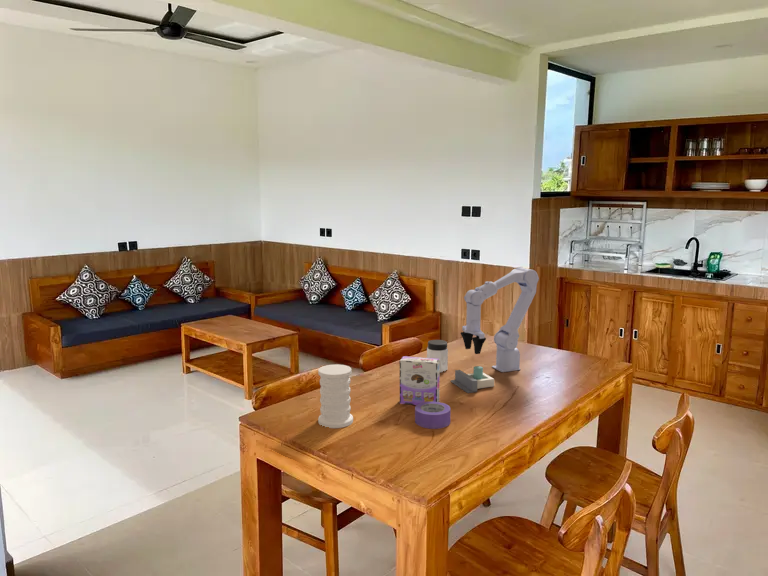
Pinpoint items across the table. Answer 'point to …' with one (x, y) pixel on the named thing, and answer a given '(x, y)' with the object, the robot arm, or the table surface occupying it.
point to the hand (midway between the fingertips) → (472, 351)
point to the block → (484, 381)
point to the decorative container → (335, 396)
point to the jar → (438, 352)
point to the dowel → (478, 372)
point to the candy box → (419, 380)
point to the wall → (465, 382)
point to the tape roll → (432, 415)
